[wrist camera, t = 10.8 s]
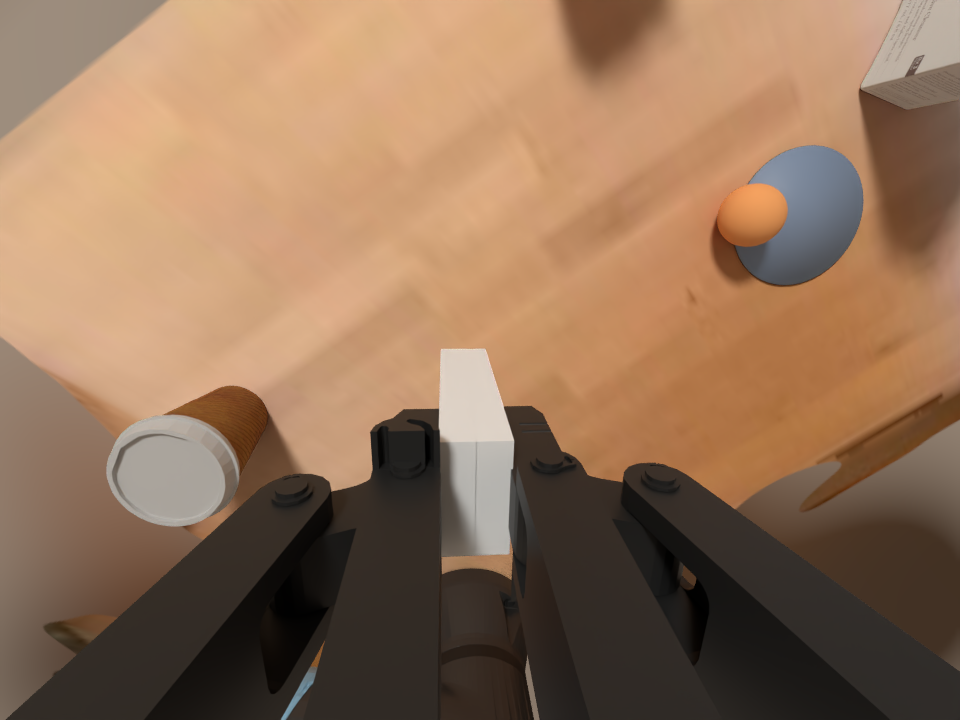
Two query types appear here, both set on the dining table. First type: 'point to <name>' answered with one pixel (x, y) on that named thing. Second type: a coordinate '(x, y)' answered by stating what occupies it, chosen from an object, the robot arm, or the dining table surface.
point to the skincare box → (919, 56)
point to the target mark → (807, 215)
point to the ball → (752, 215)
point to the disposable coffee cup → (187, 457)
